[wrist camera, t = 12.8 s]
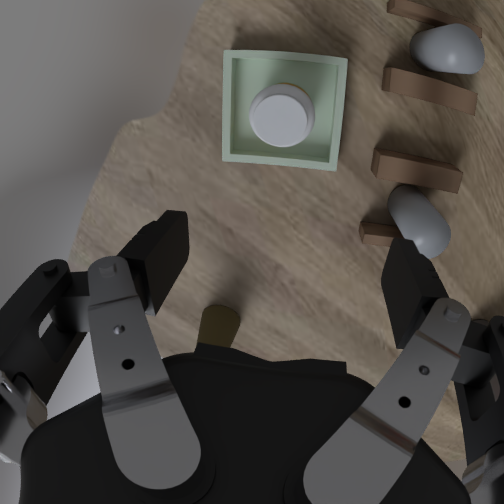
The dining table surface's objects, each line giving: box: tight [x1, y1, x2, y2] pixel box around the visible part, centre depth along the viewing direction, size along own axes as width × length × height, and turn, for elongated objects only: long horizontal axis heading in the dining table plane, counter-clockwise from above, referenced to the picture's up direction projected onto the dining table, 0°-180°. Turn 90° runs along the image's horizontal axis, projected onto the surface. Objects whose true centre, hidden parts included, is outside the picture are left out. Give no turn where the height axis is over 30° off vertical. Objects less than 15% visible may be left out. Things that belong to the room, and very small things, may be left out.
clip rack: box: [359, 0, 482, 247], centre depth 27 cm, size 10×27×3 cm, turn 178°
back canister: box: [388, 185, 451, 259], centre depth 29 cm, size 5×5×8 cm
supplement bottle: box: [249, 83, 315, 147], centre depth 25 cm, size 5×5×10 cm
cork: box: [196, 305, 240, 348], centre depth 42 cm, size 6×6×11 cm
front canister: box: [410, 23, 485, 74], centre depth 20 cm, size 5×5×8 cm
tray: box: [222, 50, 348, 171], centre depth 28 cm, size 12×12×2 cm
